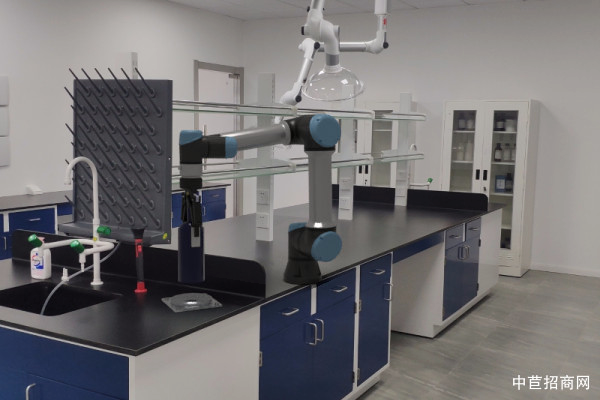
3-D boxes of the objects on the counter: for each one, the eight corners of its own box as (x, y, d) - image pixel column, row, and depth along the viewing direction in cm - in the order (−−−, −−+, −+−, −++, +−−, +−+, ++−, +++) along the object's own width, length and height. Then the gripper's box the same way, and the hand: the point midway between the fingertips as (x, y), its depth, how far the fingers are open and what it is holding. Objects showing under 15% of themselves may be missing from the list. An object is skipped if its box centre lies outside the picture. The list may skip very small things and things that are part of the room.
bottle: (175, 278, 214) (174, 190, 211) (202, 276, 217) (202, 190, 214) (179, 284, 206) (179, 193, 202) (207, 282, 209) (207, 192, 205)
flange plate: (206, 295, 223) (206, 290, 223) (222, 306, 209) (222, 301, 209) (161, 300, 216) (161, 295, 215) (175, 312, 202) (175, 307, 201)
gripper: (170, 174, 215) (171, 239, 218) (189, 179, 196) (190, 250, 199) (192, 174, 219) (192, 238, 221) (212, 179, 200) (212, 248, 202)
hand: (191, 244), depth 210 cm, fingers closed on bottle, 9 cm apart
